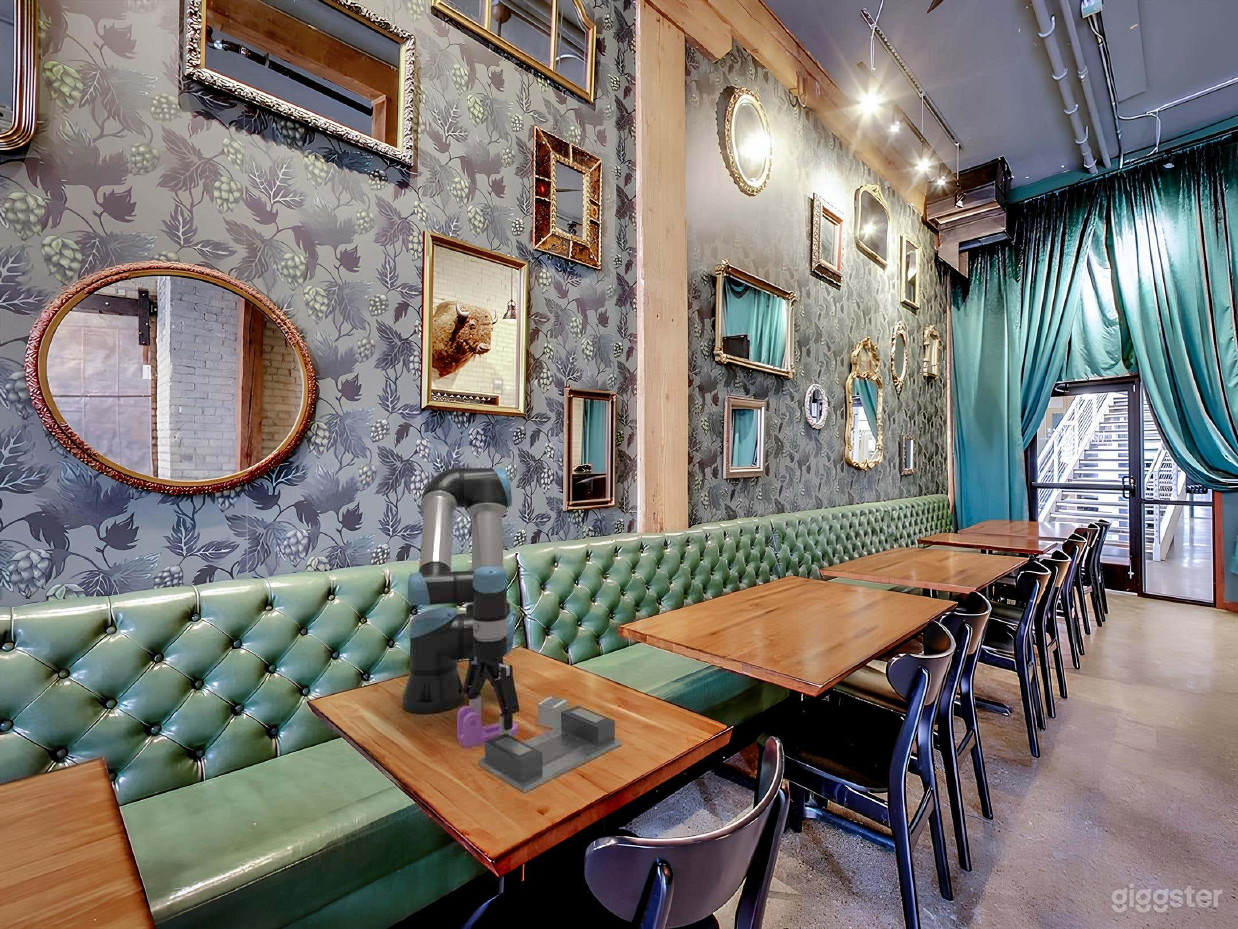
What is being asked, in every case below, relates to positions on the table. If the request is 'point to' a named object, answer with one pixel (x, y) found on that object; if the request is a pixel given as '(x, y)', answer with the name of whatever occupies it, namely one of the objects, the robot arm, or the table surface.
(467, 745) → the bracket
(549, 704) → the block
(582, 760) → the rail board
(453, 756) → the table surface
